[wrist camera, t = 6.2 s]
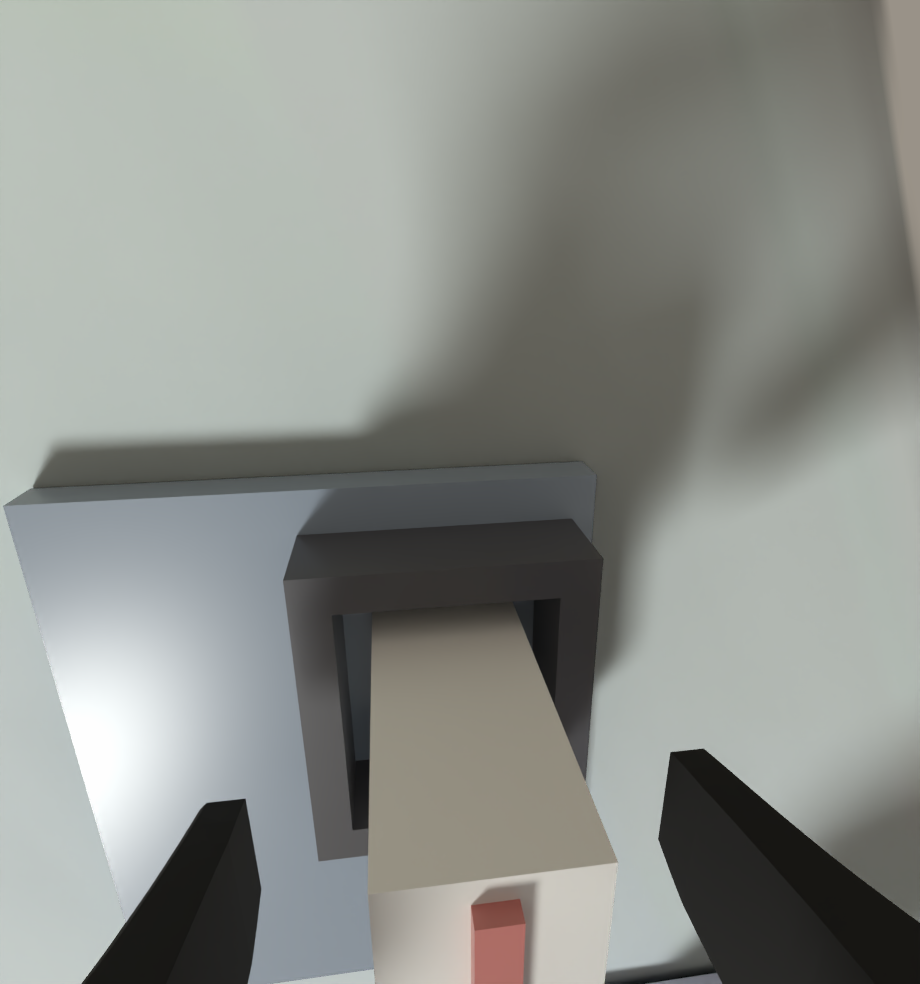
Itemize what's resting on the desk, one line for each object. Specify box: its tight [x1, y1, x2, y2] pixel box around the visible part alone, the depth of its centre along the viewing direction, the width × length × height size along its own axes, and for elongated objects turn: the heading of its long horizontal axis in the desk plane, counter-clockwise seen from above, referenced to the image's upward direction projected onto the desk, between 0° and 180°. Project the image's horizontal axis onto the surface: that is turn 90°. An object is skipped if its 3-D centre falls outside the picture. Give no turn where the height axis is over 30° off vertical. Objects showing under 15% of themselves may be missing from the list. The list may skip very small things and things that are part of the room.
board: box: [3, 461, 597, 984], centre depth 15 cm, size 15×12×2 cm
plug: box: [368, 602, 618, 984], centre depth 11 cm, size 4×3×7 cm
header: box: [283, 519, 603, 862], centre depth 13 cm, size 7×6×2 cm
